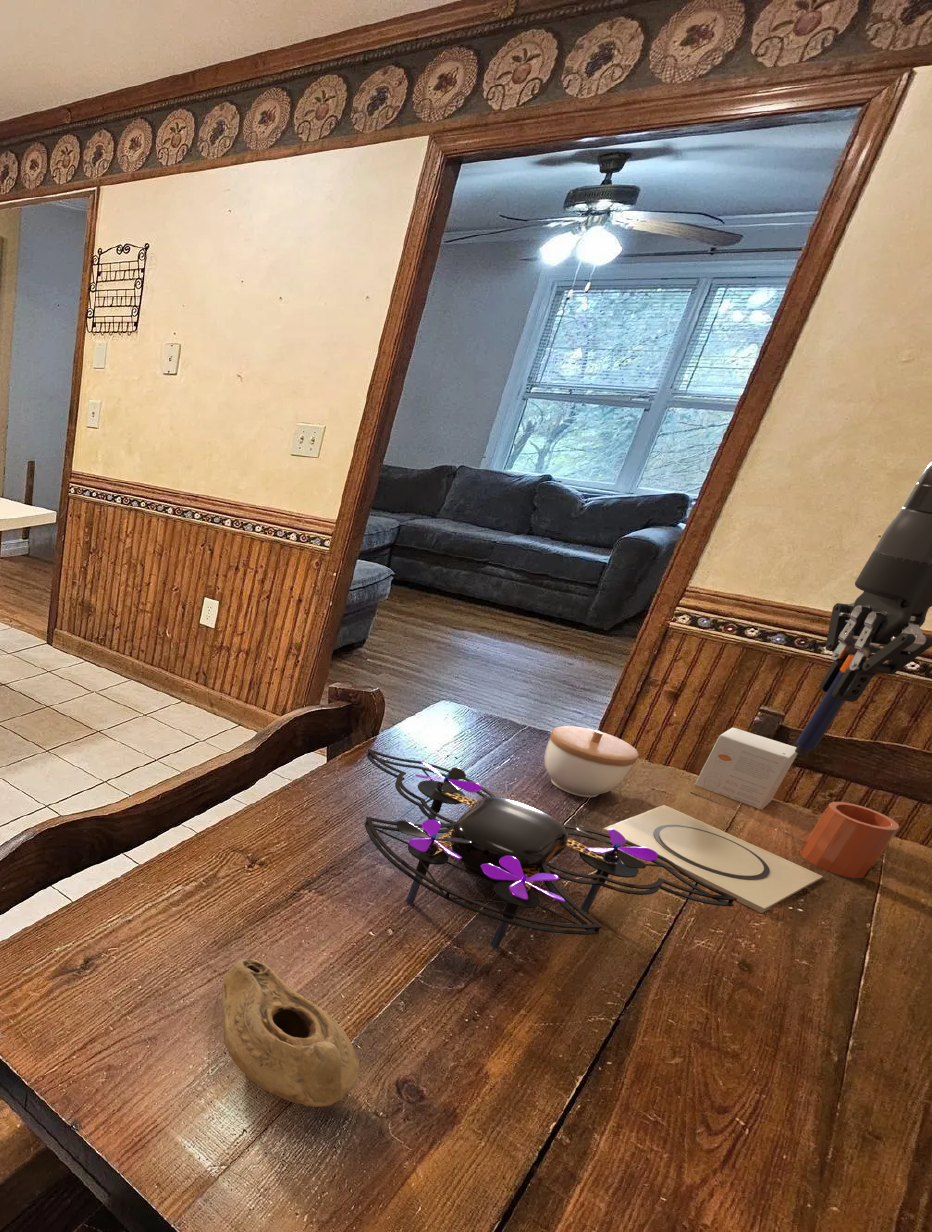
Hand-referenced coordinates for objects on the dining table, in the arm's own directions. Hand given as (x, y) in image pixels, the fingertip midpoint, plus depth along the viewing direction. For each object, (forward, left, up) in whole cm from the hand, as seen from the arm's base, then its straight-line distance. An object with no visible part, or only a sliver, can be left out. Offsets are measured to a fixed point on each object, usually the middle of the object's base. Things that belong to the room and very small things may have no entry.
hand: (836, 695), depth 95 cm
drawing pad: (+5, -2, -24) cm, 24 cm away
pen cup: (-9, +6, -24) cm, 26 cm away
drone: (+44, -9, -24) cm, 51 cm away
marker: (0, 0, -8) cm, 8 cm away
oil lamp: (+84, -2, -24) cm, 87 cm away
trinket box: (+3, -20, -24) cm, 31 cm away
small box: (-15, -8, -24) cm, 29 cm away
